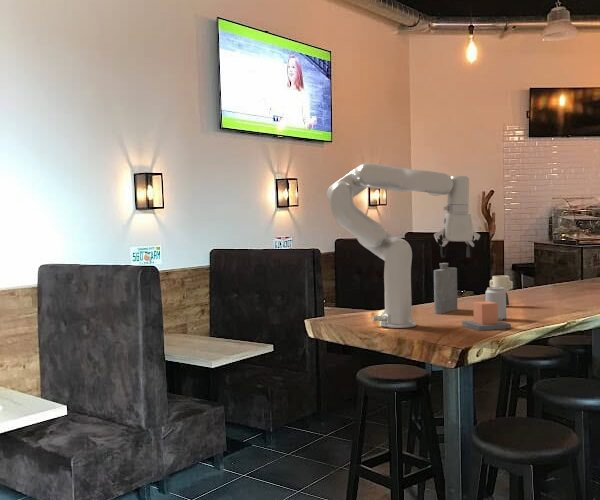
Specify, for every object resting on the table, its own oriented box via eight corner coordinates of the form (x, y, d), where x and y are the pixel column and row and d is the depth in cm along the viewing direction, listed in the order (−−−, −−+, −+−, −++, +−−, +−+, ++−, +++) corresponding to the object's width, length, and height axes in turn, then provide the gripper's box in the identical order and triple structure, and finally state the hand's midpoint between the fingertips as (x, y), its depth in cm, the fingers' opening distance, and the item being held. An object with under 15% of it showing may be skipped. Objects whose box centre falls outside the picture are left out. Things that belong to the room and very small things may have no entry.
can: (491, 321, 237) (491, 288, 237) (482, 318, 245) (481, 286, 244) (510, 320, 239) (509, 287, 238) (500, 317, 246) (499, 286, 246)
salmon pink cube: (482, 324, 222) (481, 304, 221) (473, 321, 228) (473, 302, 227) (497, 323, 223) (497, 303, 223) (489, 320, 229) (488, 301, 229)
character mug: (517, 306, 274) (517, 276, 273) (508, 308, 269) (507, 277, 268) (494, 304, 282) (494, 275, 281) (485, 306, 277) (485, 276, 277)
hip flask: (440, 314, 258) (439, 264, 257) (431, 313, 260) (430, 264, 260) (458, 309, 270) (458, 261, 269) (450, 308, 272) (449, 261, 272)
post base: (479, 330, 218) (478, 311, 218) (462, 325, 230) (461, 307, 230) (510, 328, 221) (510, 309, 221) (492, 323, 233) (492, 305, 232)
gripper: (439, 209, 227) (437, 257, 228) (484, 210, 230) (483, 258, 231) (431, 209, 235) (429, 256, 236) (475, 210, 238) (474, 257, 239)
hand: (456, 257), depth 233 cm, fingers open, 9 cm apart
